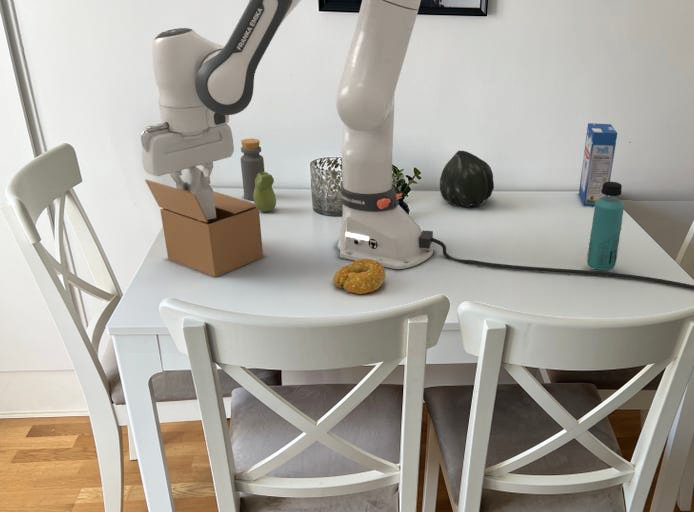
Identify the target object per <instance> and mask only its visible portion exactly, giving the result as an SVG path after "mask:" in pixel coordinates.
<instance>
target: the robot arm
mask: <svg viewBox="0 0 694 512" xmlns="http://www.w3.org/2000/svg"><path fill="white" fill-rule="evenodd" d="M421 1H422V0H361V4H360V8H359V12H358V17H357V20H356V25H355V28H354V33H353V35H352V39H351V42H350V45H349V50H348V52H347V55H346V59H345V63H344V66H343V70H342V73H341V77H340V81H339V84H338V87H337V91H336V96H335V106H336V111H337V114H338V116H339V118H340V120H341V122H342V139H341V140H342V142H341V143H342V144H341V175H342V176H341V177H342V179H341V180H342V184H341V186H340V203H341V204H342V217H341V225H340V233H339V237H338V241H337V249H338V250H339V258H341V259H345V260H349V261H353V262H355V261H356V260H361V259H371V260H374V261H377V262H379V263H380V264H381V265H383V267H384V268H389V269H393V270H403V269H409V268H411V267H412V268H413V267H415V266H417V265H420V264H422V263H423V262H425V261H427V260H428V259H430V258H431V257H432V255H433V253H434V251H433V250H434V249H433V247H432V244H433V243H434V244H436V245H439V247H441V249H442V255H443V256H444V257H445V258H446V259H448V260H450V261H454V262H457V263H461V264H465V265H477V266H482V267H488V268H496V269H497V268H499V269H508V270H509V269H510V270H519V271H529V272H546V273H556V274H557V273H559V274H574V275H575V274H576V275H587V276H600V277H601V276H602V277H612V278H620V279H621V278H622V279H630V280H637V281H638V280H639V281H645V282H650V283H651V282H652V283H657V284H662V285H668V286H674V287H679V288H685V289H690V290H694V284H689V283H684V282H680V281H675V280H674V281H673V280H669V279H664V278H657V277H651V276H643V275H638V274H628V273H620V272H610V271H601V270H587V269H573V268H555V267H542V266H541V267H540V266H527V265H516V264H515V265H514V264H505V263H494V262H486V261H482V260H475V259H461V258H460V259H459V258H456V257H455V258H454V257H452V256H451V255H450V254H448V252H447V246H446V244H445V243H444V242H443V241H441V240H439V239H436V238H434V231H433V230H424V229H423V230H422V228H421V226H420V225H419V224H418V223H417V222H416V221H415V220H414V219H413V217H411V216H410V215H409V214H408V213H407V211H406V210H404V209H403V207H402V206H400V204H399V203H400V202H399V200H400V199H402V198H403V196H402V195H403V192H400V193H397V192H396V189H395V186H394V185H393V146H394V124H395V94H396V93H395V92H396V90H397V85H398V82H399V78H400V75H401V71H402V68H403V65H404V62H405V58H406V55H407V51H408V48H409V44H410V41H411V38H412V34H413V30H414V27H415V23H416V19H417V16H418V13H419V9H420V5H421ZM301 2H302V0H247V3H246V6H245V8H244V10H243V12H242V13H241V16H240V18H239V19H238V21H237V23H236V25H235V27H234V29H233V31H232V32H231V35H230V36H229V38H228V40H227V42H226V44H225V45H222V44H219V43H216V42H213V41H211V40H209V39H207V38H205V37H203V36H202V35H200V34H199V33H197V32H196V30H194V29H192V28H189V27H179V28H178V27H177V28H173V29H168V30H166V31H162V32H160V33H159V34H157V35H156V36H155V38H154V40H153V41H152V46H151V47H152V49H151V50H152V51H151V53H152V54H151V55H152V65H153V66H152V67H153V74H154V80H155V81H154V82H155V83H156V86H157V88H158V92H159V93H158V107H159V108H158V109H159V115H160V121H161V123H158V124H155V125H148V126H146V127H145V129H144V130H142V133H141V134H140V142H141V160H142V169H143V171H145V173H146V174H147V175H151V176H153V177H161V176H165V175H169V177H170V178H171V179H172V181H174V183H175V188H177V189H180V190H183V191H187V190H188V187H187V186H188V184H187V182H184V181H183V179H182V177H181V176H182V175H183V173H182V172H183V170H187V169H188V168H192V167H198V166H201V167H202V169H201V171H203V174H204V176H205V178H206V180H207V182H208V183H209V185H211V175H212V172H213V169H214V162H218V161H221V160H224V159H229V158H231V157H232V156H233V154H234V151H235V147H234V146H235V145H234V138H233V137H234V136H233V133H232V129H231V127H230V124H229V122H230V116H233V115H236V114H239V113H242V112H243V111H244V110H245V109H247V107H248V106H249V104H250V103H251V101H252V99H253V95H254V86H255V76H256V71H257V69H258V66H259V65H260V62H261V60H262V59H263V58H264V57H263V56H264V55H265V53H266V52H267V49H268V48H269V46H270V45H271V42H272V41H273V38H274V37H275V35H276V33H277V32H278V29H279V28H280V27H281V25H282V23H283V22H284V21H285V20H286V19H287V17H288V16H289V15H290V14H291V13H292V11H293V10H294V9H295V8H296V7H297V6H298V5H299V3H301Z"/></svg>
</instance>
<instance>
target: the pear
mask: <svg viewBox="0 0 694 512" xmlns="http://www.w3.org/2000/svg"><path fill="white" fill-rule="evenodd" d="M274 182H275V180H274V177H273V175H272V174H269V173H268V172H267V171H265V172H259V174H257V177H256V178H255V189H254V193H253V198H254V200H253V203H254V204H258V206H256V207H258V208H259V212H260V211H261V212H264V213H267V212H271V211H272V210H274V209H275V208H276V206H277V197H276V193H275V191H274V189H273V185H274Z"/></svg>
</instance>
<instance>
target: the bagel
mask: <svg viewBox="0 0 694 512" xmlns="http://www.w3.org/2000/svg"><path fill="white" fill-rule="evenodd" d="M386 273H387V272H386V270H385V267H383V265H381V264H380V263H379V262H377V261H374V260H371V259H361V260H356V261H352V263H350V264H346V265H344V266H342V267H340V268H339V269H338V270H337V271H336V272H335V273H334V275H333V277H332V282H333V285H334V286H335V287H337V288H340V289H344V290H345V291H346V292H347V293H353V294H356V295H365V294H367V293H372V292H374V291H376V290H378V289H379V288H381V286H382V285H383V284H384V283H385V280H386V277H387V274H386Z"/></svg>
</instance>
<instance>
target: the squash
mask: <svg viewBox="0 0 694 512" xmlns="http://www.w3.org/2000/svg"><path fill="white" fill-rule="evenodd" d="M494 189H495V184H494V173H493V171H492V168H491V166H490V165H489V164H488V163H487V162H486V161H485V160H483V159H481V158H480V157H478V156H477V155H475V154H473V153H472V152H468V151H466V150H457V151H456V152H455V153H454V154H453V156H452V157H451V158H450V159H449V160H448V161H447V163H446V164H445V165H444V167H443V169H442V171H441V175H440V177H439V191H440V195H441V197H442V199H444V200H445V201H446V202H448V203H450V204H451V205H454V206H461V205H462V206H463V207H465V208H469V207H471V206H474V207H478V206H479V207H480V206H482V205H483V204H484V202H485V201H486V200H488V199H490V197H491V196H492V194H493V190H494Z"/></svg>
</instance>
